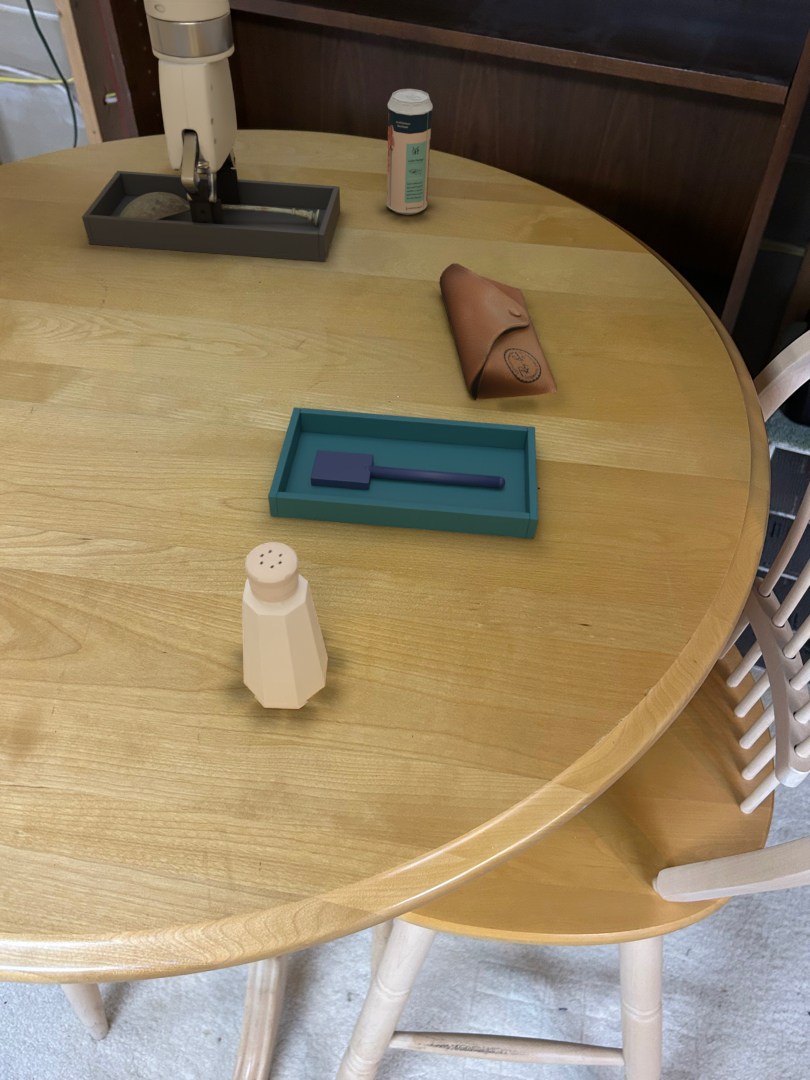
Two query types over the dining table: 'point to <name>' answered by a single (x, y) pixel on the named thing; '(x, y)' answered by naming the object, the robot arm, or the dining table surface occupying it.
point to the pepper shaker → (280, 630)
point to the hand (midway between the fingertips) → (218, 218)
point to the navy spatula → (383, 473)
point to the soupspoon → (170, 204)
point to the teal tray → (417, 449)
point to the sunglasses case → (494, 337)
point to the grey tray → (235, 237)
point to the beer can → (408, 150)
